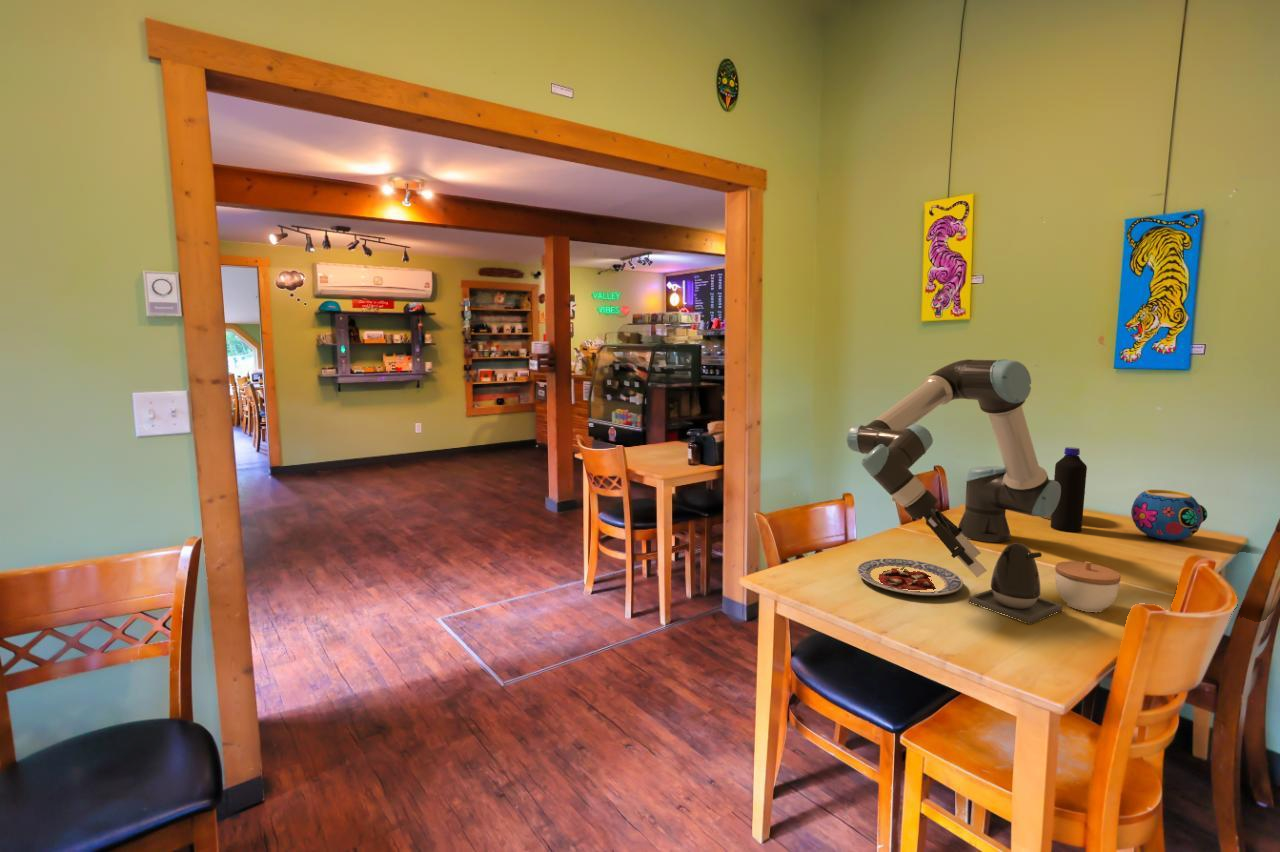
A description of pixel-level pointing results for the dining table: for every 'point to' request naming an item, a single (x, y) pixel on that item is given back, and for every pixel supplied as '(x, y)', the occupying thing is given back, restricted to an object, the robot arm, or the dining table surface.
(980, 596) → the tray
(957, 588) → the ceramic plate
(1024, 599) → the pump dispenser
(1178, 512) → the ceramic pot
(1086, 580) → the lidded bowl
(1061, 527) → the bottle
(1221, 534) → the dining table surface
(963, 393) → the robot arm
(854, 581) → the dining table surface
